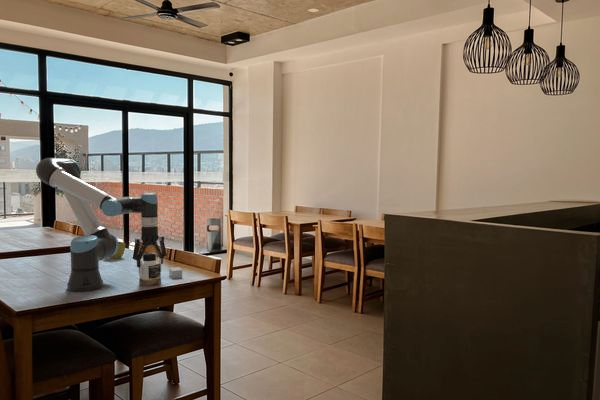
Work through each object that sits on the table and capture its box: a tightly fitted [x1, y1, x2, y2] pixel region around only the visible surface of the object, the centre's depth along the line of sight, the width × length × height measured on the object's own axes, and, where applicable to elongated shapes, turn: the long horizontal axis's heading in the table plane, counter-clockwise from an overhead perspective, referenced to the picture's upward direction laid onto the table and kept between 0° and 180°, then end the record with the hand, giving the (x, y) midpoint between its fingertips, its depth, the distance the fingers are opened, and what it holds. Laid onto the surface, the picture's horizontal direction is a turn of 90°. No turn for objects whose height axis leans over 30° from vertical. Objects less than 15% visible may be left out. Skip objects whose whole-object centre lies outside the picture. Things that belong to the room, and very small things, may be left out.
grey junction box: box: [168, 267, 183, 279], centre depth 244 cm, size 7×5×4 cm
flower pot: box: [108, 241, 126, 259], centre depth 289 cm, size 9×9×9 cm
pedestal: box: [138, 277, 162, 287], centre depth 229 cm, size 10×10×3 cm
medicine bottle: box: [138, 252, 162, 280], centre depth 229 cm, size 7×7×12 cm
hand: (150, 272), depth 229 cm, fingers open, 9 cm apart
